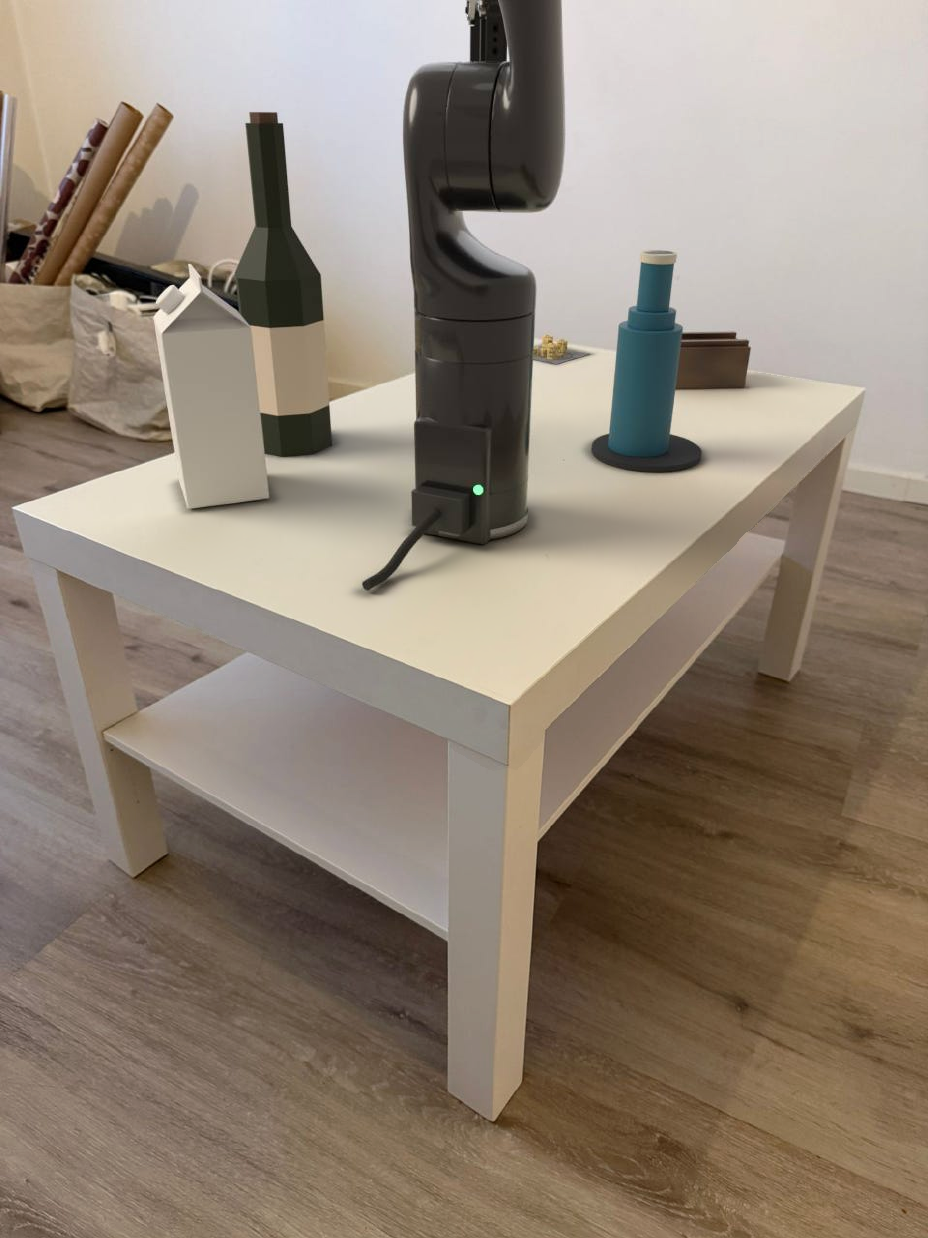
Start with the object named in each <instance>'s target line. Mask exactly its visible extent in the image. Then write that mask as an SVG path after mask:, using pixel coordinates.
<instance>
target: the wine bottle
mask: <svg viewBox="0 0 928 1238" xmlns="http://www.w3.org/2000/svg"><path fill="white" fill-rule="evenodd" d="M248 113H249V122H244V123H245V124H244V125H245V133H246V134H245V135H246V145H247V153H248V164H249V176H250V184H251V194H252V205H253V206H252V207H253V216H254V228H253V229H252V232H251V234H250V237H249V239H248V242H247V243H246V246H245V248H244V250H243V252H242V255H241V257H240V260H239V262H238V264H237V266H236V269H235V270H234V277H235V288H236V295H237V305H238V312H239V313H240V315H241V316H242V317H243V318H244V319H245V321H246V322H247V323H248V324H249V325H250V327H251V331H252V341H253V350H254V359H255V369H256V378H257V387H258V397H259V406H260V416H261V425H262V434H263V444H264V453H265V454H267V455H273V456H277V457H294V456H302V455H303V456H304V455H314V454H317V453H319V452H320V451H322V450H324V449H327V448H329V447H330V446H332V445H333V438H332V437H333V436H332V424H331V422H332V421H331V407H330V392H329V378H328V363H327V348H326V347H327V346H326V334H325V333H326V332H325V331H326V330H325V317H324V316H325V315H324V304H323V288H322V287H323V286H322V274H321V273H320V271H319V269H318V267H317V266H316V264H315V262H314V261H313V259H312V258H311V256H310V254H309V252H308V251H307V250H306V248H305V246H304V244H303V243H302V241H301V240H300V238H299V236H298V235H297V233H296V231H295V229H294V228H293V226H292V218H291V205H290V191H289V181H288V179H289V178H288V166H287V155H286V143H285V131H284V130H285V129H284V123H283V122H279V119H278V118H279V117H278V112H277V111H249V112H248Z"/></svg>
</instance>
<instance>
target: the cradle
mask: <svg viewBox="0 0 928 1238" xmlns="http://www.w3.org/2000/svg"><path fill="white" fill-rule="evenodd" d="M737 335H738V334H737V332H736V331H733V330H732V331H683V332H682V340H681V348H680V356H679V364H678V372H677V380H676V388H675V390H687V389H688V390H689V389H693V390H694V389H736V388H737V389H741V388H742V389H743V388H745V387H746V380H747V376H748V370H749V369H748V368H749V362H750V356H751V351H752V347H751V346H750V345H749V344H750V340H749V339H747V338H743V339H742V338H741V339H739V338H738V337H737Z"/></svg>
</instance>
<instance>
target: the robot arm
mask: <svg viewBox="0 0 928 1238" xmlns="http://www.w3.org/2000/svg"><path fill="white" fill-rule="evenodd" d="M562 1H563V0H466V6H465V7H464V13H465V14H466V21H467V25H468V26H469V60H468V61H467V60H465V61H459V60H458V61H456V60H455V61H454V60H453V61H431V62H427V63H423V64H421V65H419V66H418V67H417V68H416V70H415V71H414V72H413V74H412V75H411V77H410V79H409V81H408V84H407V89H406V92H405V97H404V104H403V109H402V110H403V111H402V151H403V152H402V153H403V166H404V179H405V193H406V205H407V206H406V207H407V219H408V239H409V241H408V242H409V260H410V261H409V263H410V274H411V280H412V289H413V319H414V322H413V323H414V377H415V378H414V379H415V381H414V383H415V420H414V422H413V434H414V435H413V437H414V439H413V441H414V442H413V443H414V445H413V446H414V487H415V488H414V489H412V490H411V492H410V493H411V494H410V496H411V526H412V527H414V529H413V530H412V531H411V532H410V533H409V534H408V535H407V537H406V538H405V539H404V540H403V541H402V543H401V544H400V545H399V547H398V548H397V550H396V551H395V553H394V554H393V556H392V557H391V558H390V560H389V561H388V562H387V563H386V564H385V566H383V568H381V570H380V571H378V572H376V573H375V574H374V575H371V576H370V577H369V578H366V579H365V580H363V581H362V583H361V585H362V588H363V589H364V590H365V591H368V592H369V591H371V590H372V589H373V588H375V587H377V586H378V585H380V584H382V583H383V582H385V581H386V580H388V579H389V578H390V577H391V576H392V575H393V574H394V573H395V572H396V571H397V570H398V568H399V567H400V565H401V564H402V563H403V561H404V559H406V557H407V556H408V554H409V552H410V551H411V549H412V548H413V547H414V546H415V545H416V544H417V542H419V540H420V539H421V538H422V537H423V536H424V535H425V534H427V535H433V536H437V537H442V538H443V537H444V538H448V539H452V540H457V541H463V542H468V543H472V544H478V545H485V544H487V542H489V541H490V540H494V539H498V538H503V537H506V536H507V537H508V536H509V535H512V534H515V533H517V532H518V531H520V530H522V529H523V528H524V527H525V526H526V524H527V523H528V519H529V518H528V517H529V508H528V492H529V491H528V490H529V466H530V465H529V464H530V460H529V459H530V440H531V417H532V397H533V396H532V395H533V374H534V373H533V372H534V371H533V370H534V359H533V351H534V347H535V333H536V331H535V329H536V328H535V327H536V309H537V280H536V275H535V274H534V272H533V271H532V270H531V269H530V268H529V267H528V266H526V265H524V264H522V263H520V262H518V261H516V260H514V259H512V258H509V257H506V256H505V255H503V254H500V253H499V252H497V251H496V250H495V251H494V250H493V249H491V248H490V247H488V246H486V245H485V244H484V243H483V242H481V241H480V240H479V239H478V238H477V237H476V236H475V235H474V234H472V232H471V231H470V230H469V228H468V227H467V224H466V222H465V218H464V213H463V212H477V213H479V212H481V213H483V212H484V213H505V214H507V213H508V214H509V213H510V214H511V213H512V214H513V213H514V214H515V213H516V214H519V213H520V214H533V213H539V212H543V211H545V210H547V209H548V208H549V207H551V205H552V204H553V203H554V201H555V199H556V197H557V196H558V192H559V189H560V187H561V186H560V185H561V183H562V177H563V173H564V163H565V152H566V91H565V89H566V87H565V63H564V62H565V61H564V36H563V3H562Z"/></svg>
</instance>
